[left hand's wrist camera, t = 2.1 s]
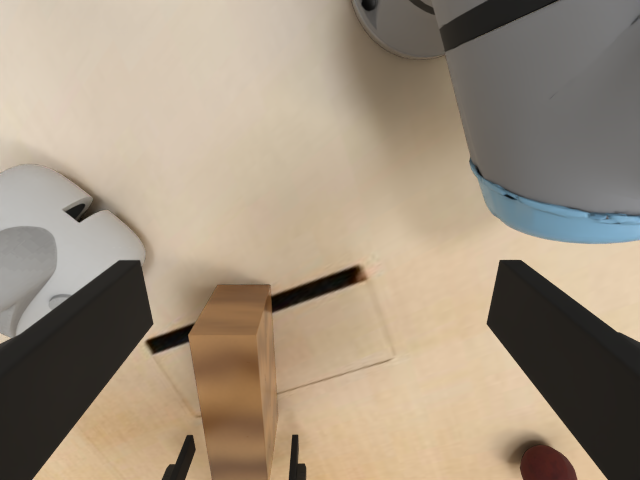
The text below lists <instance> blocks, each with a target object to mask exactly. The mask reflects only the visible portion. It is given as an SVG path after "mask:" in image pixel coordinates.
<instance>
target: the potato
mask: <svg viewBox="0 0 640 480" xmlns="http://www.w3.org/2000/svg"><path fill="white" fill-rule="evenodd" d="M520 470H521V474H522V477H523V480H577V477H576V473H575V470H574V468H573V466H572V465H571V463H570V462H569V460H568V459H567V458H566V457H565V456H564V455H563V454H562V453H560V452H558V451H557V450H555V449H553V448H551V447H549V446H545V445H536V446H533V447H531V448H529V449H528V450H527V451H526V452H525V453H524V455H523V457H522V460H521V465H520Z"/></svg>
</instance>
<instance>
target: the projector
mask: <svg viewBox="0 0 640 480" xmlns="http://www.w3.org/2000/svg"><path fill="white" fill-rule="evenodd" d="M92 201H93V198H92V197H91V196H90V195H89V194H88V193H86V192H85V191H84V190H82V189H81V188H80V187H79V186H77V185H76V184H75V183H73V182H72V181H70V180H69V179H68V178H66V177H65V176H63V175H62V174H60V173H58V172H56V171H55V170H53V169H50V168H48V167H45V166H40V165H34V164H24V165H18V166H15V167H12V168H9V169H7V170H5V171H3V172H1V173H0V333H1V334H3V335H6V336H8V337H11V338H13V337H15V336H17V335H19V334H21V333H22V332H24V331H25V330H26V329H28V328H29V327H30V326H32V325H33V324H34V323H36V322H37V321H38V320H40V319H41V318H42V317H44V316H45V315H46V314H48V313H49V312H50V311H52V310H53V309H54V308H56V307H57V306H58V305H60V304H61V303H62V302H64V301H65V300H66V299H68V298H69V297H70V296H72V295H73V294H74V293H76V292H77V291H78V290H80V289H81V288H82V287H84V286H85V285H86V284H88V283H89V282H90V281H92V280H93V279H94V278H96V277H97V276H98V275H100V274H101V273H102V272H104V271H105V270H106V269H108V268H109V267H111V266H112V265H113V264H115V263H116V262H117V261H119V260H140V262H141V267H142V265H143V263H144V261H145V257H146V251H145V247H144V245H143V243H142V242H141V240H140V239H139V237H138V236H137V235H136V234H135V233H134V232H133V231H132V230H131V229H130V228H129V227H128V226H127V225H126V224H125V223H123V222H122V221H121V220H120V219H119V218H117V217H116V216H115V215H114V214H113V213H111V212H110V211H109V210H102V211H99V212H97V213H95V214H93V215H91V216H89V217H88V218H86V219H84V220H83V221H81V222H80V223H79V222H77V220H78V219H79V218H80V217H81V216H82V214H83V213H84V212H85V211H86V210H87V209H88V207H89V206H90V205H91V203H92Z"/></svg>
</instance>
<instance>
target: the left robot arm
mask: <svg viewBox="0 0 640 480" xmlns="http://www.w3.org/2000/svg"><path fill="white" fill-rule="evenodd" d="M556 1H557V2H556ZM351 2H352V5H353V8H354V11H355V13H356V15H357V17H358V19H359V21H360V23H361V25H362V26H363V28H364V29H365V31H366V32H367V33H368V35H369V36H370V37H371V38H372V39H373V40H374V41H375V42H376V43H377V44H378V45H380V46H381V47H382V48H384V49H385V50H387V51H389V52H391V53H393V54H395V55H398V56H400V57H404V58H409V59H431V58H436V57H440V56H443V55H445V56H446V60H447V64H448V68H449V72H450V76H451V80H452V84H453V88H454V92H455V96H456V100H457V104H458V108H459V112H460V116H461V120H462V124H463V128H464V132H465V136H466V140H467V144H468V148H469V152H470V161H469V162H470V166H471V169H472V171H473V173H474V175H475V176H476V177H477V178H478V181H479V184H480V188H481V191H482V194H483V197H484V200H485V203H486V205H487V207H488V208H489V210H490V211H491V213H492V214H493V215H494V216H496V217H497V218H499V219H500V220H501V221H502V222H504V223H505V224H506V225H507V226H509V227H511V228H513V229H515V230H517V231H520V232H522V233H525V234H528V235H531V236H535V237H539V238H543V239H548V240H553V241H560V242H569V243H583V244H607V243H621V242H629V241H636V240H640V0H559V1H558V0H351ZM554 2H555V3H554ZM552 3H553V4H552ZM550 4H551V5H550ZM547 5H548V6H547ZM545 6H546V7H545ZM543 7H544V8H543ZM541 8H542V9H541ZM539 9H540V10H539ZM534 11H535V12H534ZM532 12H533V13H532ZM530 13H531V14H530ZM528 14H529V15H528ZM525 15H526V16H525ZM523 16H524V17H523ZM521 17H522V18H521ZM519 18H520V19H519ZM517 19H518V20H517ZM514 20H515V21H514ZM512 21H513V22H512ZM510 22H511V23H510ZM508 23H509V24H508ZM506 24H507V25H506ZM501 26H502V27H501ZM499 27H500V28H499ZM497 28H498V29H497ZM495 29H496V30H495ZM490 31H491V32H490ZM488 32H489V33H488ZM486 33H487V34H486ZM484 34H485V35H484ZM481 35H483V36H481ZM479 36H480V37H479ZM477 37H478V38H477ZM475 38H476V39H475ZM152 325H153V320H152V315H151V310H150V305H149V300H148V296H147V291H146V286H145V281H144V276H143V271H142V267H141V262H140V260H119V261H117V262H116V263H115V264H113V265H112V266H111V267H109V268H108V269H106V270H105V271H104V272H102V273H101V274H100V275H98V276H97V277H96V278H94V279H93V280H92V281H90V282H89V283H88V284H86V285H85V286H84V287H82V288H81V289H80V290H78V291H77V292H76V293H74V294H73V295H72V296H70V297H69V298H68V299H66V300H65V301H64V302H62V303H61V304H60V305H58V306H57V307H56V308H54V309H53V310H52V311H50V312H49V313H48V314H46V315H45V316H44V317H42V318H41V319H40V320H38V321H37V322H36V323H34V324H33V325H32V326H30V327H29V328H28V329H26V330H25V331H24V332H22V333H21V334H19V335H17V336H15V337H13V338H11V339H9V340H7V341H5V342H3V343H1V344H0V480H32V479H33V478H34V477H35V475H36V474H37V473H38V471H39V470H40V469H41V468H42V466H43V465H44V464H45V463H46V461H47V460H48V459H49V457H50V456H51V455H52V454H53V452H54V451H55V450H56V448H57V447H58V446H59V445H60V443H61V442H62V441H63V439H64V438H65V437H66V436H67V434H68V433H69V432H70V430H71V429H72V428H73V427H74V425H75V424H76V423H77V421H78V420H79V419H80V418H81V416H82V415H83V414H84V412H85V411H86V410H87V409H88V407H89V406H90V405H91V403H92V402H93V401H94V400H95V398H96V397H97V396H98V394H99V393H100V392H101V391H102V389H103V388H104V387H105V385H106V384H107V383H108V382H109V380H110V379H111V378H112V376H113V375H114V374H115V373H116V371H117V370H118V369H119V367H120V366H121V365H122V364H123V362H124V361H125V360H126V358H127V357H128V356H129V355H130V353H131V352H132V351H133V349H134V348H135V347H136V346H137V344H138V343H139V342H140V340H141V339H142V338H143V337H144V335H145V334H146V333H147V331H148V330H149V329H150V328H151V326H152ZM487 325H488V326H489V328H490V329H491V330H492V331H493V333H494V334H495V335H496V337H497V338H498V339H499V340H500V342H501V343H502V344H503V346H504V347H505V348H506V349H507V351H508V352H509V353H510V355H511V356H512V357H513V358H514V360H515V361H516V362H517V364H518V365H519V366H520V367H521V369H522V370H523V371H524V373H525V374H526V375H527V376H528V378H529V379H530V380H531V382H532V383H533V384H534V385H535V387H536V388H537V389H538V391H539V392H540V393H541V394H542V396H543V397H544V398H545V400H546V401H547V402H548V403H549V405H550V406H551V407H552V409H553V410H554V411H555V412H556V414H557V415H558V416H559V418H560V419H561V420H562V421H563V423H564V424H565V425H566V427H567V428H568V429H569V430H570V432H571V433H572V434H573V436H574V437H575V438H576V439H577V441H578V442H579V443H580V445H581V446H582V447H583V448H584V450H585V451H586V452H587V454H588V455H589V456H590V457H591V459H592V460H593V461H594V463H595V464H596V465H597V466H598V468H599V469H600V470H601V471H602V473H603V474H604V475H605V477H606V478H607V479H608V480H640V342H638V341H636V340H634V339H632V338H630V337H628V336H626V335H624V334H622V333H620V332H616V331H615V330H614V329H612V328H611V327H610V326H608V325H607V324H606V323H604V322H603V321H602V320H600V319H599V318H598V317H596V316H595V315H594V314H592V313H591V312H590V311H588V310H587V309H586V308H584V307H583V306H582V305H580V304H579V303H578V302H576V301H575V300H574V299H572V298H571V297H570V296H568V295H567V294H566V293H564V292H563V291H562V290H560V289H559V288H558V287H556V286H555V285H554V284H552V283H551V282H550V281H548V280H547V279H546V278H544V277H543V276H542V275H540V274H539V273H538V272H536V271H535V270H534V269H532V268H531V267H529V266H528V265H527V264H525V263H524V262H523V261H521V260H500V262H499V267H498V271H497V276H496V281H495V286H494V291H493V296H492V300H491V305H490V310H489V315H488V320H487Z"/></svg>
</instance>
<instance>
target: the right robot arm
mask: <svg viewBox="0 0 640 480" xmlns="http://www.w3.org/2000/svg"><path fill="white" fill-rule="evenodd" d="M195 450H196V449H195V444H194V439H193V435H187V437H186V439H185V442H184V444H183V447H182V449H181V452H180V454H179V457H178V459H177V462H176V464H170V465H169V466H168V467H167V468H166V471H165V474H164V476H163V478H162V480H185V478H186V475H187V473H188V470H189V467H190V464H191V461H192V459H193V456H194V453H195ZM298 452H299V446H298V435H292V446H291V458H290V471H289V480H306V466H305V464H298Z"/></svg>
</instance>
